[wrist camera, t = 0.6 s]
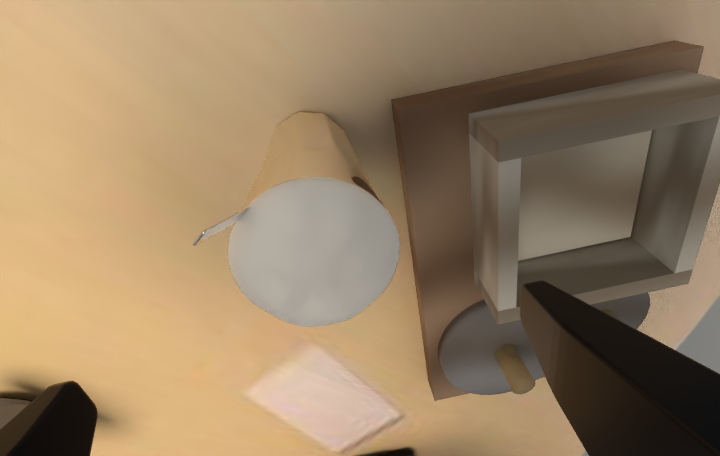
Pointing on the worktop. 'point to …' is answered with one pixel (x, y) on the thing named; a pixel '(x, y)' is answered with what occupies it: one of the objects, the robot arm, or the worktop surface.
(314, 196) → the milkshake
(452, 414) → the worktop surface
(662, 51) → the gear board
